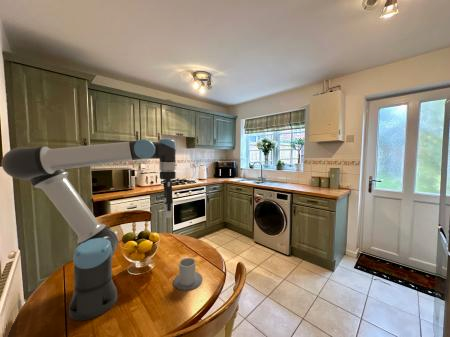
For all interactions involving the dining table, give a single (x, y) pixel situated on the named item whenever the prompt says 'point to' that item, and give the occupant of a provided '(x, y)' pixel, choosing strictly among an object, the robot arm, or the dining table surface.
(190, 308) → the dining table surface
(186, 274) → the cup
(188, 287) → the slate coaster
